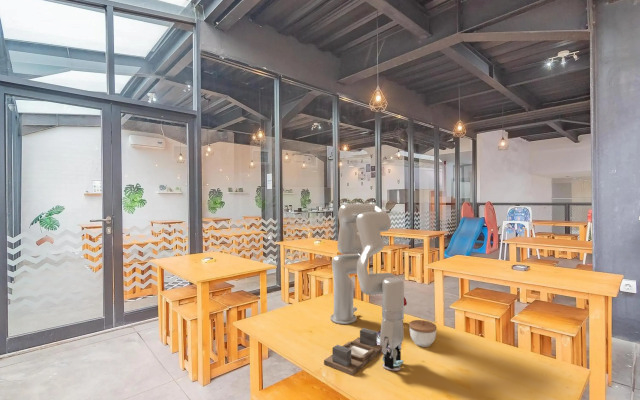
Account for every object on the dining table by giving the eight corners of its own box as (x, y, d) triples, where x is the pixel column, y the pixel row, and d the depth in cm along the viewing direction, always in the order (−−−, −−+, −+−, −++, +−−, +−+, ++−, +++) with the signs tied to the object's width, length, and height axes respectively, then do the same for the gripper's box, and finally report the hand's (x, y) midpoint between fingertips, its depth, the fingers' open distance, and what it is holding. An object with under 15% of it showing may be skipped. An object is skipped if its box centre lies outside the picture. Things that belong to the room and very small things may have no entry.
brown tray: (358, 340, 139) (358, 325, 138) (384, 349, 131) (384, 332, 131) (324, 364, 119) (324, 346, 119) (352, 375, 112) (352, 356, 112)
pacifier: (400, 374, 113) (404, 365, 119) (400, 356, 113) (404, 348, 119) (379, 368, 117) (384, 360, 122) (379, 351, 116) (384, 344, 122)
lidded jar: (404, 343, 136) (404, 321, 136) (416, 335, 144) (416, 314, 144) (429, 352, 129) (429, 328, 129) (440, 343, 137) (441, 320, 136)
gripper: (393, 305, 127) (393, 352, 127) (371, 318, 114) (371, 371, 114) (412, 309, 123) (412, 358, 123) (392, 323, 109) (391, 378, 109)
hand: (392, 363), depth 118 cm, fingers closed on pacifier, 5 cm apart
